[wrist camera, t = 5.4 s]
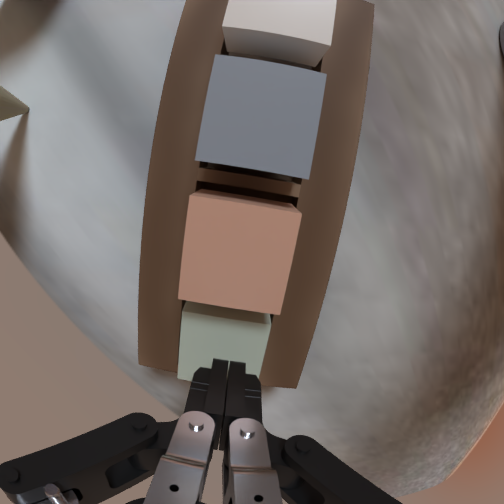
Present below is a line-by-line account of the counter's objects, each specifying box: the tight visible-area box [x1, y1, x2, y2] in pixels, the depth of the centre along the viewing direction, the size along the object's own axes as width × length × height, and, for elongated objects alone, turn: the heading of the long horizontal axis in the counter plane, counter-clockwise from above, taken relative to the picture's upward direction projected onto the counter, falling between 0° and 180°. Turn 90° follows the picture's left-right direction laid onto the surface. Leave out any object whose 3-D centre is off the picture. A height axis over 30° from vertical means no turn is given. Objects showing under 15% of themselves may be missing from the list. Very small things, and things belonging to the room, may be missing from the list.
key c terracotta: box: [178, 189, 302, 315], centre depth 13 cm, size 4×4×3 cm
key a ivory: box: [222, 0, 337, 67], centre depth 10 cm, size 4×4×3 cm
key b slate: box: [195, 54, 327, 180], centre depth 12 cm, size 4×4×3 cm
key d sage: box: [177, 301, 271, 381], centre depth 16 cm, size 4×4×3 cm
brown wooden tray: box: [138, 0, 374, 389], centre depth 16 cm, size 11×23×4 cm, turn 170°
